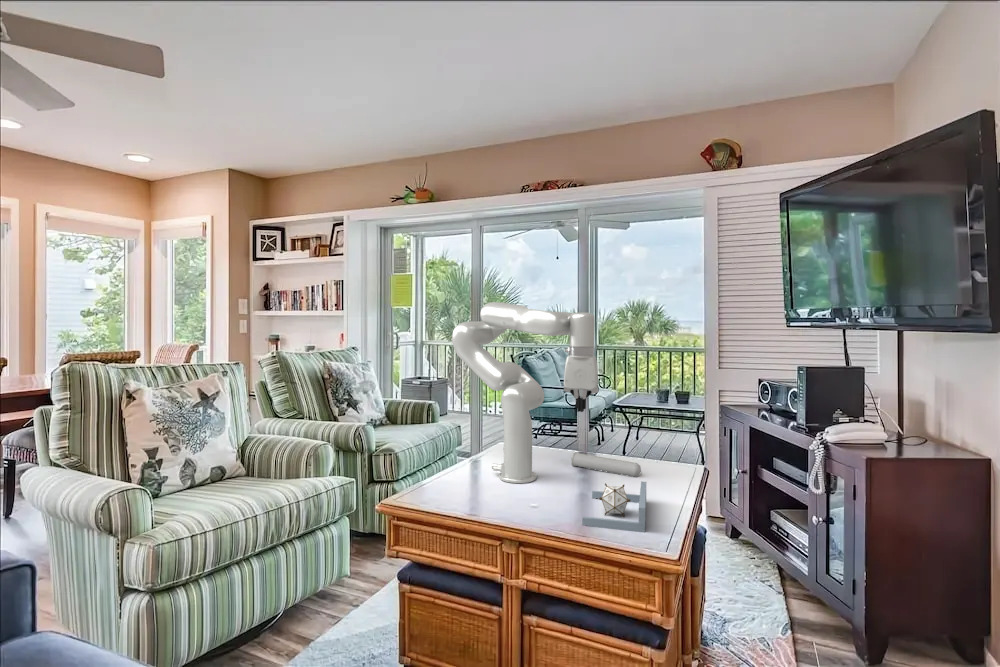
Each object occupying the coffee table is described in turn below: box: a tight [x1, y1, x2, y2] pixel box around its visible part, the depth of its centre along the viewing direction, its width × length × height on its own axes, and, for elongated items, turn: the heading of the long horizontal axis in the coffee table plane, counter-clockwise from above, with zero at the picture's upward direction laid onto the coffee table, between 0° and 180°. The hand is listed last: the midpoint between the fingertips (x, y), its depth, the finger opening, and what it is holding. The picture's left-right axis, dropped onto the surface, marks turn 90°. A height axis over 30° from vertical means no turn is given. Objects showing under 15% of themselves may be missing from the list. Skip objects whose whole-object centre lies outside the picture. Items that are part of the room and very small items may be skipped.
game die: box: [598, 482, 631, 518], centre depth 145 cm, size 9×8×10 cm
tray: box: [581, 480, 647, 533], centre depth 145 cm, size 16×23×6 cm
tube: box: [570, 451, 642, 478], centre depth 187 cm, size 5×5×25 cm
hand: (580, 411), depth 165 cm, fingers closed
